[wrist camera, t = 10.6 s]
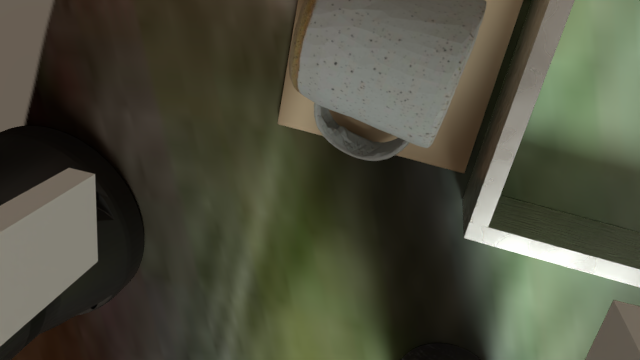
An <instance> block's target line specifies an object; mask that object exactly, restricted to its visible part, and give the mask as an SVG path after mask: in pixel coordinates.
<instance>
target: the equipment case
mask: <svg viewBox="0 0 640 360" xmlns="http://www.w3.org/2000/svg"><path fill="white" fill-rule="evenodd" d="M574 1H575V0H532V1H531V4H530V7H529V10H528V13H527V16H526V18H525V21H524V24H523V27H522V30H521V33H520V36H519V39H518V41H517V44H516V47H515V50H514V53H513V56H512V59H511V62H510V64H509V67H508V70H507V73H506V76H505V79H504V82H503V85H502V87H501V90H500V93H499V96H498V99H497V102H496V105H495V108H494V110H493V113H492V116H491V119H490V122H489V125H488V128H487V131H486V133H485V136H484V139H483V142H482V145H481V148H480V151H479V154H478V156H477V159H476V162H475V165H474V168H473V171H472V174H471V177H470V179H469V182H468V185H467V188H466V191H465V194H464V197H463V200H462V206H463V229H464V238H466V239H470V240H473V241H477V242H480V243H484V244H487V245H491V246H494V247H498V248H501V249H505V250H509V251H512V252H516V253H519V254H523V255H526V256H530V257H533V258H537V259H540V260H544V261H548V262H551V263H555V264H558V265H562V266H565V267H569V268H572V269H576V270H580V271H583V272H587V273H590V274H594V275H597V276H601V277H604V278H608V279H611V280H615V281H619V282H622V283H626V284H629V285H633V286H636V287H640V233H639V232H635V231H632V230H628V229H624V228H620V227H617V226H613V225H609V224H606V223H602V222H598V221H594V220H591V219H587V218H583V217H579V216H576V215H572V214H568V213H565V212H561V211H557V210H553V209H550V208H546V207H542V206H538V205H535V204H531V203H527V202H524V201H520V200H516V199H512V198H509V197H505V196H501V192H502V189H503V187H504V184H505V182H506V179H507V176H508V174H509V171H510V169H511V166H512V163H513V161H514V158H515V155H516V153H517V150H518V148H519V145H520V142H521V140H522V137H523V134H524V132H525V129H526V127H527V124H528V121H529V119H530V116H531V113H532V111H533V108H534V106H535V103H536V100H537V98H538V95H539V92H540V90H541V87H542V85H543V82H544V79H545V77H546V74H547V71H548V69H549V66H550V64H551V61H552V58H553V56H554V53H555V50H556V48H557V45H558V43H559V40H560V37H561V35H562V32H563V29H564V27H565V24H566V22H567V19H568V16H569V14H570V11H571V8H572V6H573V3H574Z"/></svg>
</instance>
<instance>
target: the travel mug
mask: <svg viewBox="0 0 640 360" xmlns="http://www.w3.org/2000/svg"><path fill="white" fill-rule="evenodd" d="M401 360H480V359H479V358H478V357H477V356H475V355H474V354H473V353H471V352H469V351H468V350H465V349H463V348H461V347H458V346H455V345H450V344H443V343H434V344H427V345H422V346H419V347H417V348H415V349H413V350H411V351H410V352H408V353H407V354H406V355H405V356H404V357H403V358H402V359H401Z"/></svg>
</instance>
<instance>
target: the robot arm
mask: <svg viewBox="0 0 640 360" xmlns="http://www.w3.org/2000/svg"><path fill="white" fill-rule="evenodd" d="M143 251H144V231H143V225H142V220H141V216H140V213H139V210H138V207H137V205H136V202H135V200H134V198H133V196H132V194H131V192H130V190H129V189H128V187H127V185H126V184H125V182H124V181H123V179H122V178H121V177H120V175H119V174H118V173H117V171H116V170H115V169H114V168H113V167H112V166H111V165H110V164H109V162H108V161H107V160H105V159H104V158H103V157H102V156H101V155H100V154H99V153H98V152H96V151H95V150H94V149H93V148H91V147H90V146H88V145H87V144H85V143H84V142H82V141H81V140H79V139H77V138H75V137H73V136H71V135H69V134H67V133H64V132H62V131H59V130H56V129H52V128H48V127H42V126H20V127H15V128H11V129H8V130H5V131H3V132H0V360H11V359H12V358H13V357H14V356H15V355H17V354H18V353H19V352H20V351H21V350H22V349H23V348H24V347H25V346H26V345H27V344H29V343H30V342H31V341H32V340H33V339H34V338H35V337H36V336H38V335H39V334H40V333H43V332H45V331H47V330H49V329H51V328H53V327H56V326H58V325H59V324H61V323H63V322H65V321H67V320H68V319H70V318H72V317H74V316H76V315H80V314H85V313H88V312H90V311H93V310H95V309H97V308H99V307H101V306H103V305H104V304H106V303H107V302H109V301H110V300H111V299H112V298H114V297H115V296H116V295H117V294H118V293H119V292H120V291H121V290H122V289H123V288H124V287H125V286H126V285H127V284H128V283H129V282H130V281H131V279H132V278H133V277H134V275H135V274H136V272H137V270H138V268H139V266H140V263H141V260H142V256H143ZM585 360H640V306H636V305H632V304H628V303H624V302H619V301H615V300H613V302H612V304H611V306H610V308H609V311H608V313H607V315H606V317H605V319H604V321H603V323H602V325H601V327H600V330H599V332H598V334H597V336H596V338H595V340H594V342H593V344H592V346H591V348H590V351H589V353H588V355H587V357H586V359H585Z"/></svg>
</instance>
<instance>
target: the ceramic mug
mask: <svg viewBox="0 0 640 360" xmlns="http://www.w3.org/2000/svg"><path fill="white" fill-rule="evenodd" d="M486 3H487V2H486V1H485V0H304V3H303V5H302V8H301V10H300V14H299V17H298V20H297V23H296V27H295V30H294V34H293V39H292V44H291V50H290V58H289V75H290V78H291V81H292V84H293V86H294V88H295V89H296V90H297V91H298V92H299V93H300V94H302V95H303V96H305V97H306V98H308V99H310V100H311V101H313V102H314V117H315V121H316V125H317V127H318V129H319V130H320V132H321V133H322V135H323V136H324V137H325V138H326V139H327V140H328V142H329V143H331V144H332V145H333V146H335V147H336V148H338V149H339V150H341V151H342V152H344V153H346V154H348V155H350V156H353V157H355V158H358V159H362V160H368V161H380V160H384V159H388V158H390V157H392V156H394V155H396V154H398V153H399V152H400V151H402V150H403V149H404V148H405V147H406V146H407V145H408V144H409V143H412V144H414V145H417V146H420V147H424V148H428V147H430V146H431V144H432V143H433V141H434V139H435V137H436V135H437V133H438V130H439V128H440V126H441V124H442V122H443V119H444V117H445V115H446V113H447V110H448V107H449V105H450V102H451V100H452V97H453V95H454V93H455V89H456V88H457V86H458V83H459V80H460V77H461V75H462V72H463V70H464V68H465V65H466V63H467V61H468V58H469V56H470V54H471V51H472V49H473V46H474V43H475V41H476V38H477V35H478V31H479V27H480V25H481V23H482V20H483V17H484V14H485V10H486ZM329 109H330V110H332V111H335V112H338V113H340V114H343V115H346V116H349V117H352V118H354V119H356V120H359V121H361V122H363V123H366V124H368V125H370V126H372V127H375V128H377V129H379V130H382V131H384V132H386V133H389V134H391V135H394V136H396V137H398V138H397V139H394V140H392V141H388V142H373V141H370V140H368V139H365V138H363V137H361V136H359V135H357V134H355V133H353V132H351V131H348V130H347V129H346V128H345V127H343V126H340V125H338V124H337V123H336V121H335V120H334V119H333V117H332V115H331V113H330V111H329Z"/></svg>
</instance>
